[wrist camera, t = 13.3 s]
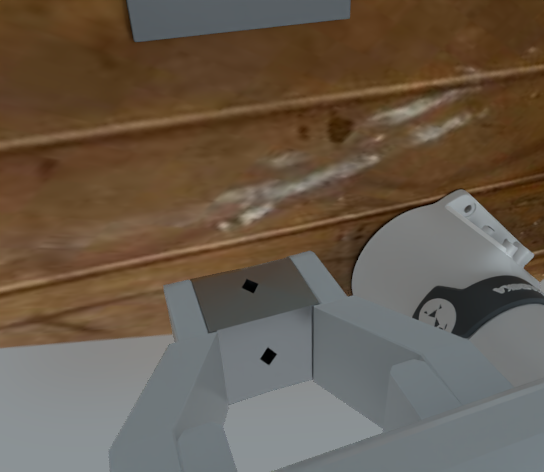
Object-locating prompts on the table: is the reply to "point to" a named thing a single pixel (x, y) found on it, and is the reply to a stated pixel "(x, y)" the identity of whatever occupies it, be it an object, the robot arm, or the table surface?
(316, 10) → the rubber mat
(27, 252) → the table surface
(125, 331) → the table surface
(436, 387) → the robot arm
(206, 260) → the table surface
